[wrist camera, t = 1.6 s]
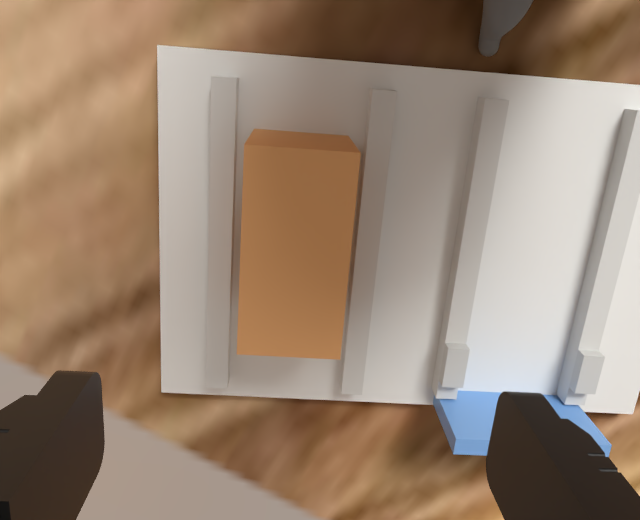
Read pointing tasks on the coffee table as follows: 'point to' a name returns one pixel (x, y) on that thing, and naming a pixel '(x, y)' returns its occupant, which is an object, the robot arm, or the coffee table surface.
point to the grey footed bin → (499, 22)
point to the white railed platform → (416, 235)
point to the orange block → (295, 243)
